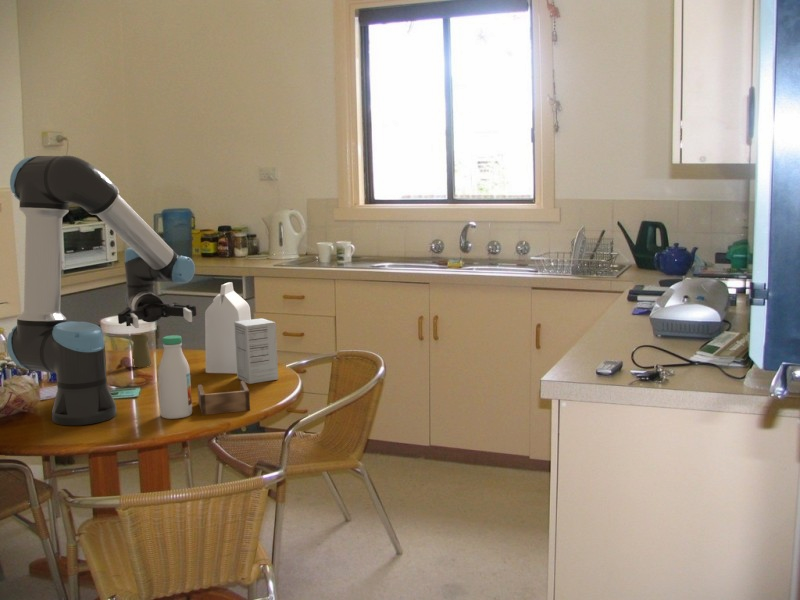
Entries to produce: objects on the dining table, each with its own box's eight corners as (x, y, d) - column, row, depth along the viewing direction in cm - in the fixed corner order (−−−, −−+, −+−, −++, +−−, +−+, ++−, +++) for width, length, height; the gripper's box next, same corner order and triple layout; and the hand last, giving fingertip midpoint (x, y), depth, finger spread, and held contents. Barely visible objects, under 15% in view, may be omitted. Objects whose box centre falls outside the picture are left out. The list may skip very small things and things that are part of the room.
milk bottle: (184, 420, 219) (179, 340, 216) (155, 419, 221) (150, 339, 217) (197, 411, 226) (193, 333, 223) (169, 410, 228) (164, 333, 225)
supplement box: (279, 379, 257) (276, 322, 254) (249, 384, 252) (246, 326, 249) (265, 373, 265) (263, 317, 262) (236, 377, 260) (233, 320, 257)
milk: (242, 373, 265) (238, 286, 261) (205, 372, 267) (201, 286, 263) (255, 364, 277) (251, 280, 273) (219, 363, 279) (215, 280, 275)
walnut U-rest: (201, 414, 223) (200, 395, 222) (198, 403, 234) (197, 384, 233) (250, 410, 227) (249, 391, 226) (245, 399, 237) (244, 380, 236)
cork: (129, 365, 278) (126, 330, 276) (147, 362, 281) (145, 328, 280) (136, 369, 273) (133, 333, 271) (155, 366, 277) (152, 331, 275)
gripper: (193, 315, 254) (213, 328, 235) (102, 325, 243) (114, 339, 224) (192, 289, 252) (211, 300, 234) (100, 298, 242) (112, 310, 223)
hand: (164, 319), depth 229 cm, fingers open, 13 cm apart
